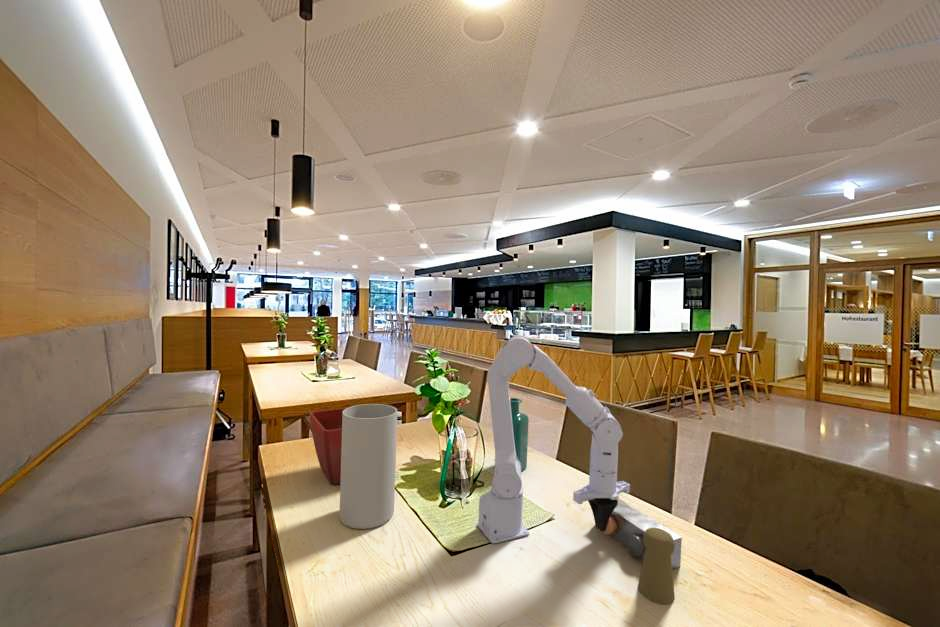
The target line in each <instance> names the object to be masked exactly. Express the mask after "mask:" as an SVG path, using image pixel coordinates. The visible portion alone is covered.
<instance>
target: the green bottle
mask: <svg viewBox="0 0 940 627" xmlns="http://www.w3.org/2000/svg"><path fill="white" fill-rule="evenodd" d="M521 403H523V400H522V399H520V398H517V397H510V404H511V414H512V424H513V433H514V443H515V449H516V456H517V458H518V460H519V461H520V463H521V468H522V469H521V473H522V472H523V471H525V469H526V468H527V465H528V464H527V463H528V444H529V440H528V439H529V423H530V422H529V417H528V415H527V414H525V413H523V412H520V404H521Z"/></svg>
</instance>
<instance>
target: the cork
mask: <svg viewBox="0 0 940 627" xmlns="http://www.w3.org/2000/svg"><path fill="white" fill-rule="evenodd" d="M643 543H644V546H645V547H646V549H645V553H644V558H643V560H642V565H641V570H640V574H639V580H638V584H637V588H638V591H639V592H640V594H641V595H642V596H643V597H644V598H646V599H647V600H649V601H650V602H652V603H656V604H659V605H670V604H672V603H674V601H675V599H676V598H675V588H674V576H673V575H674V574H673V570H672V563H671V554H673V551H674V549H675V544H674V540H673V538H672V536H671V535H670V534H669V533H668V532H666V531H664V530H662V529H659V528H648V529H647V530H646V531H645V532H644V534H643Z"/></svg>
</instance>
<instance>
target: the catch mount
mask: <svg viewBox="0 0 940 627" xmlns="http://www.w3.org/2000/svg"><path fill="white" fill-rule="evenodd" d="M617 500H618V505H617V506H616V508H615V509H614V510H613V512H612V514H611V516H613V518H614V519H616V520H617V530H616V532H614V533H610V534H608V536H610V537H611V538H613V540H615V541H616V542H618V543H619V544H620V545H622V546H623V547H625V548H626V549H627V546H626V538H627V537H629V536H632V535H635V534H638V535H640V536H641V537H642V538H643V534H644V532H645V531H646V530H647V529H648V528H659V529H662V530H664V531H666V532H668V533H669V534H670V535H671V536H672V538H673V540H674V544H675V549H674V551H673V554H671V563H672V571H673V570H675V569H678V568H681V557H682V543H683V542H682V540H683V539H682V538H683V537H682V536H680V535H678V533H675V532H674V531H672V530H671V529H670V528H667V527H666V526H664V525H662V524H661V523H660V522H657V521H656V520H654V519H653V518H651V517H649V516H648V515H647V514H646V513H643V512H642V511H640V510H638V509H637V508H635V507H633V506H632V505H630V504H628V503H627V502H625V501H624V500H622V499H620V497H619V498H618V499H617ZM637 557H638V558H639V559H640V560H642V561H643V558H644V554H643V555H640V556H637Z"/></svg>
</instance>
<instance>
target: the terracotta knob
mask: <svg viewBox="0 0 940 627" xmlns="http://www.w3.org/2000/svg"><path fill="white" fill-rule="evenodd" d="M616 530H617V520H616V519H614V518H613V516H610V518H609V521H608V524H607V527H606V530H605V531H603V532H602V534H604V535H609V534H610V533H614V532H616Z"/></svg>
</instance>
